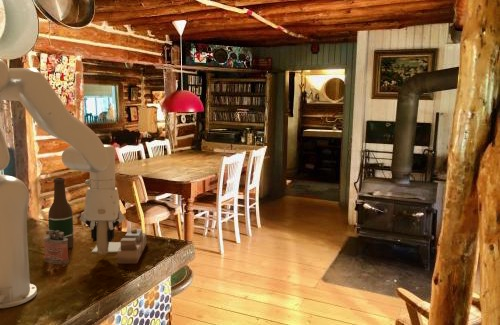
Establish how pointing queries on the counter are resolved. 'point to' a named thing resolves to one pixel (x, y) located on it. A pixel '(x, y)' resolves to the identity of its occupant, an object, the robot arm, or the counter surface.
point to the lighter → (56, 247)
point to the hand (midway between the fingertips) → (102, 240)
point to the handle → (102, 235)
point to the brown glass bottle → (61, 212)
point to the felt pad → (110, 247)
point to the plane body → (131, 246)
